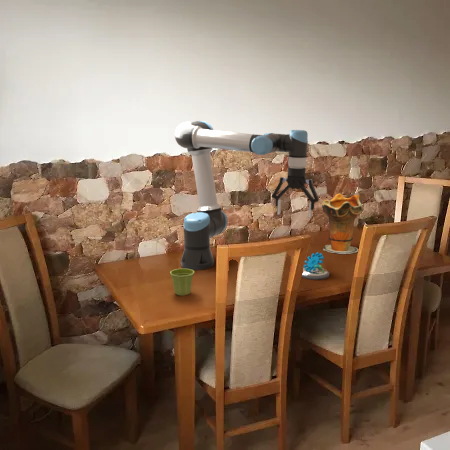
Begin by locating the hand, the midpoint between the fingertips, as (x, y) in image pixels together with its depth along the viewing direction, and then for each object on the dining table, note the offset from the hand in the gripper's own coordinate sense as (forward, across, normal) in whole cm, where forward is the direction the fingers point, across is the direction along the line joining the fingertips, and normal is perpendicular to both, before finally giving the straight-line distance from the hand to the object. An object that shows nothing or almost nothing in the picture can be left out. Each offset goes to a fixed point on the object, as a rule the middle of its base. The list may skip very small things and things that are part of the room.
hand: (294, 215), depth 225 cm
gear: (+23, -11, +4) cm, 25 cm away
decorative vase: (+24, -17, -40) cm, 49 cm away
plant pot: (+26, +34, +43) cm, 60 cm away
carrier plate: (+24, -11, +4) cm, 27 cm away
